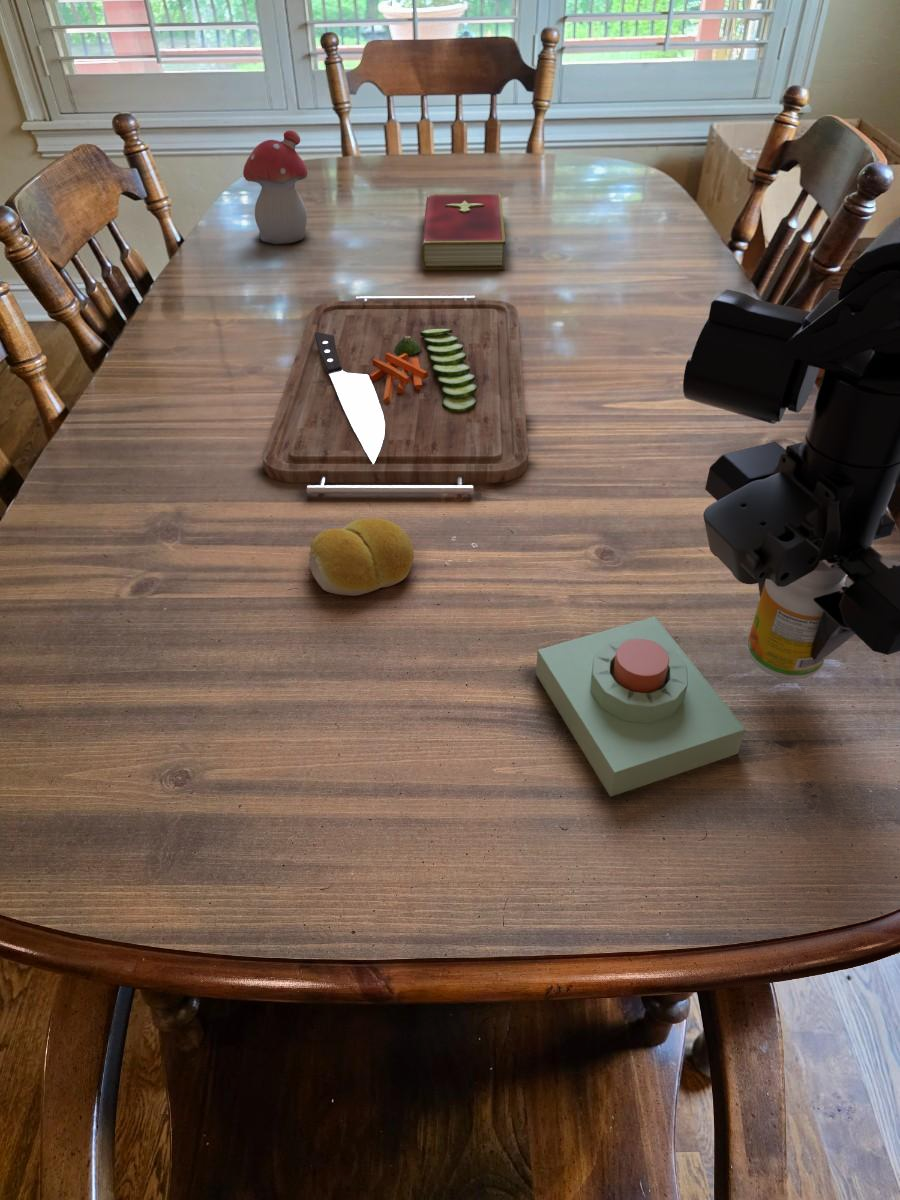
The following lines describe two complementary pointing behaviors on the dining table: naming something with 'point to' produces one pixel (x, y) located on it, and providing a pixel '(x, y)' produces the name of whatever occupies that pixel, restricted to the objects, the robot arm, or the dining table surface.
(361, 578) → the bread roll
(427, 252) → the hardcover book
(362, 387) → the chopping board
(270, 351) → the dining table surface
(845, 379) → the robot arm
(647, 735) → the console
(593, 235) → the dining table surface
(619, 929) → the dining table surface
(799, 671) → the supplement bottle
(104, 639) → the dining table surface
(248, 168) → the decorative ornament
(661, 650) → the button
